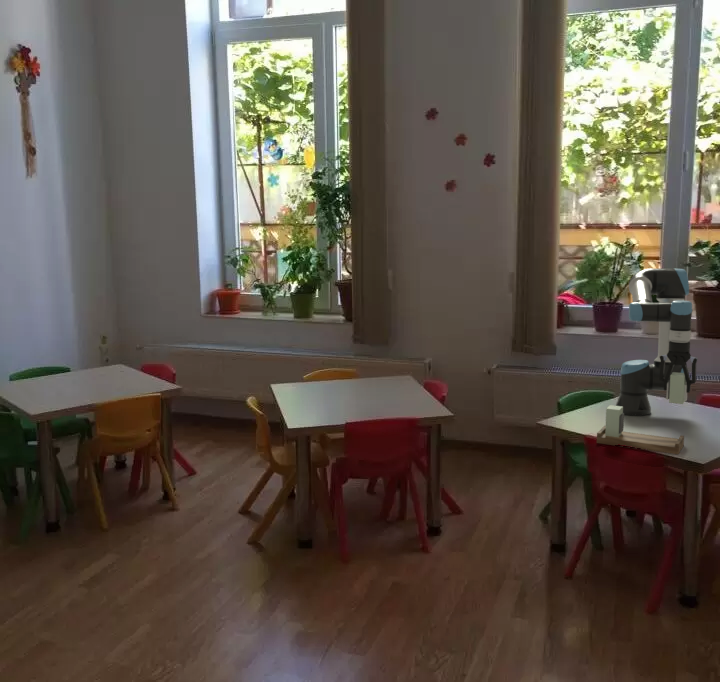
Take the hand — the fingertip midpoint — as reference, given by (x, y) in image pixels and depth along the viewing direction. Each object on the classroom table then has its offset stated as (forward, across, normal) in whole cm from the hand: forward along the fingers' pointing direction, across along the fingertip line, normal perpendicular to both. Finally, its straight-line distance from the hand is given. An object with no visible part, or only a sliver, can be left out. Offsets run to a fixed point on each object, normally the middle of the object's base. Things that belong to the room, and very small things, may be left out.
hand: (676, 399), depth 294 cm
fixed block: (+14, -21, -10) cm, 27 cm away
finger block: (+1, 0, 0) cm, 1 cm away
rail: (+17, -11, -10) cm, 23 cm away
